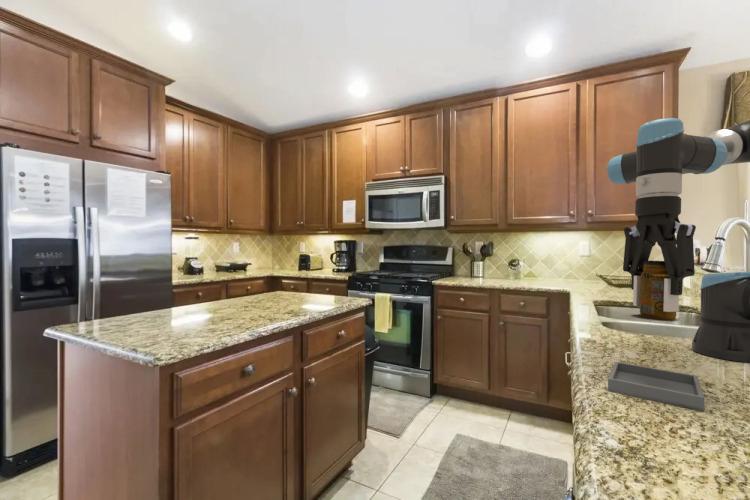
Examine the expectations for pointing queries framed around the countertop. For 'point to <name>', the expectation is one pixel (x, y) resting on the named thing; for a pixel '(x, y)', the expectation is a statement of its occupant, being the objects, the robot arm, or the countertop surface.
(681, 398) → the tray
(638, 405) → the countertop surface
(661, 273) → the condiment
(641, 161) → the robot arm
